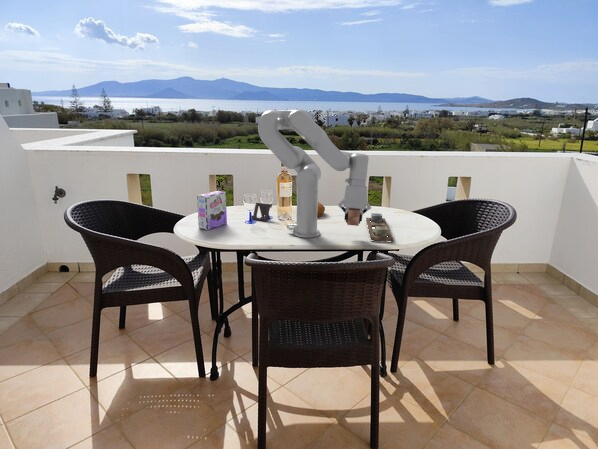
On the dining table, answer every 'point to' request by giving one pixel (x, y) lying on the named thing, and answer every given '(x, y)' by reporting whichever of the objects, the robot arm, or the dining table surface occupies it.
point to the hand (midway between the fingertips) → (352, 221)
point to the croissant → (320, 210)
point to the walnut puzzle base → (378, 228)
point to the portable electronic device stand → (262, 211)
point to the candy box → (212, 210)
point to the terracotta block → (353, 217)
